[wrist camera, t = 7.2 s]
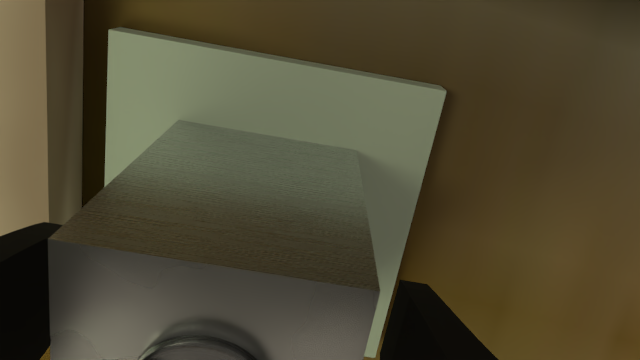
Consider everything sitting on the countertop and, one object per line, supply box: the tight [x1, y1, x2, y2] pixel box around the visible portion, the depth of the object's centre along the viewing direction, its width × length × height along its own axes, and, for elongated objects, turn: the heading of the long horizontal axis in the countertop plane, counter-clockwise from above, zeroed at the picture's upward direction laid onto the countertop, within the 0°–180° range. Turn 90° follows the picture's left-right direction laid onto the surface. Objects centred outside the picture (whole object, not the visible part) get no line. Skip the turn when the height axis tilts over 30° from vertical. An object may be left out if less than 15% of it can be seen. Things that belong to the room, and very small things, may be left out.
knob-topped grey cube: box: [48, 120, 380, 360], centre depth 12 cm, size 5×5×7 cm
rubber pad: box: [104, 27, 447, 358], centre depth 15 cm, size 9×9×1 cm
